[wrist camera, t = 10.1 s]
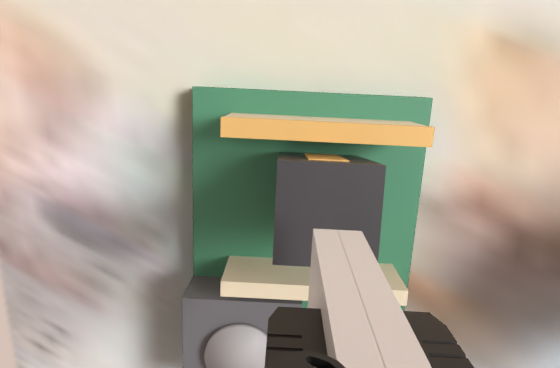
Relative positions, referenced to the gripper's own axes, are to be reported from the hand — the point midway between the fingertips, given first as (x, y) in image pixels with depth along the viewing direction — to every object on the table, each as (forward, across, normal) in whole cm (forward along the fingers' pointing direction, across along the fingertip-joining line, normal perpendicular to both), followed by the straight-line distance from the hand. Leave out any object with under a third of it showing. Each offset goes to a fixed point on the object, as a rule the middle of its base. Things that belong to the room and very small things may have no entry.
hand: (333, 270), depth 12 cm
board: (+10, 0, +3) cm, 11 cm away
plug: (+9, 0, 0) cm, 9 cm away
